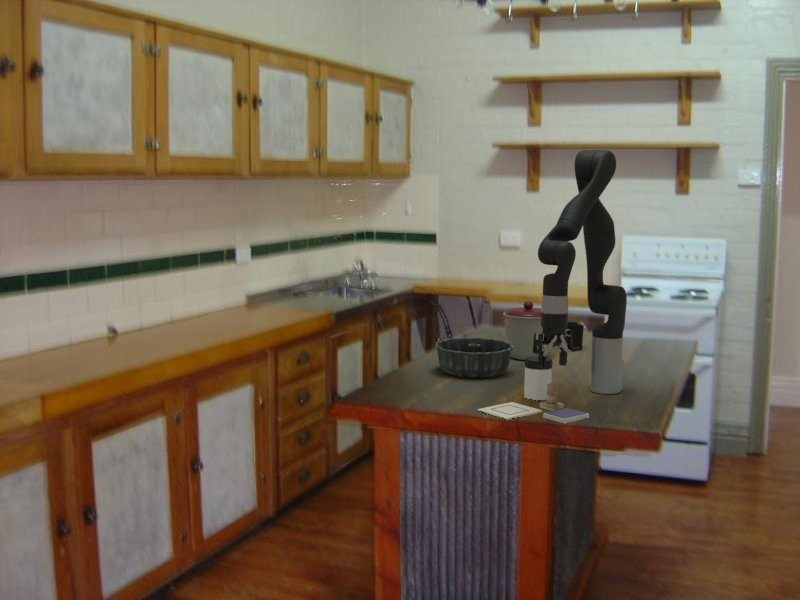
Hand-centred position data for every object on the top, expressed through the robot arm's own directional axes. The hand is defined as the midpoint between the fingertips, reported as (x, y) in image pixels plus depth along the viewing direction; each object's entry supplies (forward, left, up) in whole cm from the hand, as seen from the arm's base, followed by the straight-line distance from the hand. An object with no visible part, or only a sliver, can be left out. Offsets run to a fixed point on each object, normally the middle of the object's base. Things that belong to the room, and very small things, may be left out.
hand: (552, 367), depth 266 cm
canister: (-48, -56, -13) cm, 75 cm away
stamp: (0, 0, -12) cm, 12 cm away
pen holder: (-74, -58, -13) cm, 95 cm away
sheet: (+12, -5, -12) cm, 18 cm away
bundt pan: (-15, -49, -13) cm, 53 cm away
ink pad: (+4, +9, -12) cm, 16 cm away
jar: (-7, -12, -13) cm, 19 cm away
